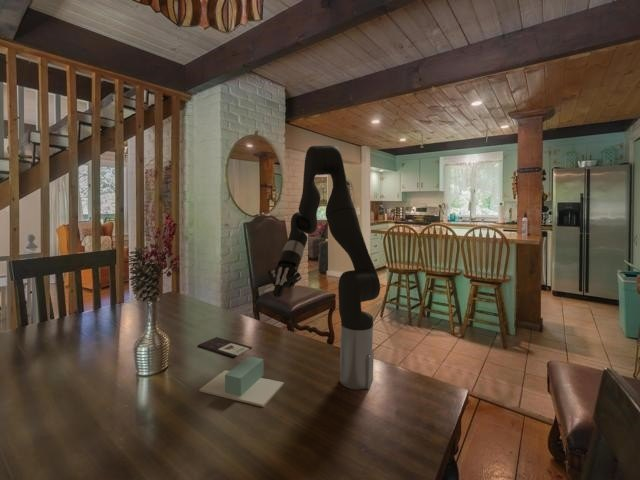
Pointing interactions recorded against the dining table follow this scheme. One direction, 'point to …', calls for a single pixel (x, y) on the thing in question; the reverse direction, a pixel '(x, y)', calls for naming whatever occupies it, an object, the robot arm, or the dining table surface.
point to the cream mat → (254, 395)
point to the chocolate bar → (225, 347)
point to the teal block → (244, 376)
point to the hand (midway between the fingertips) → (276, 296)
